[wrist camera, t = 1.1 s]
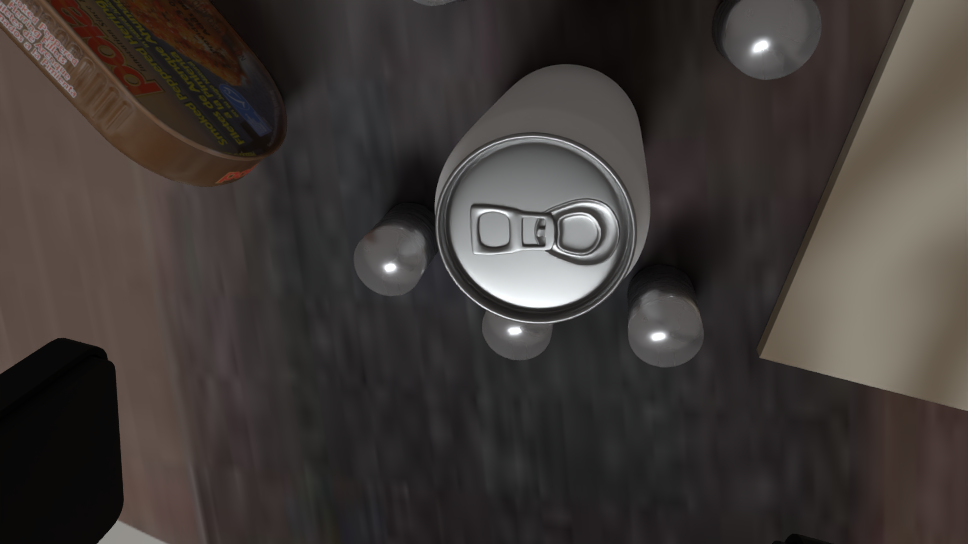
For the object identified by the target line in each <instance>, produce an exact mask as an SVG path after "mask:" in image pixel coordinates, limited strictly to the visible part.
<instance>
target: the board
mask: <svg viewBox="0 0 968 544" xmlns="http://www.w3.org/2000/svg"><path fill="white" fill-rule="evenodd" d="M757 351H758V354H759V357H760V358H763V359H767V360H771V361H775V362H779V363H783V364H787V365H791V366H795V367H799V368H802V369H806V370H810V371H814V372H818V373H822V374H826V375H830V376H834V377H838V378H842V379H845V380H849V381H853V382H857V383H861V384H865V385H869V386H873V387H877V388H881V389H884V390H888V391H892V392H896V393H900V394H904V395H908V396H912V397H916V398H920V399H923V400H927V401H931V402H935V403H939V404H943V405H947V406H951V407H955V408H959V409H962V410H966V411H968V0H905V3H904V5H903V7H902V10H901V12H900V14H899V17H898V19H897V21H896V24H895V26H894V28H893V31H892V33H891V35H890V38H889V40H888V42H887V45H886V47H885V49H884V52H883V54H882V56H881V59H880V61H879V63H878V66H877V68H876V70H875V73H874V75H873V78H872V80H871V82H870V85H869V87H868V89H867V92H866V94H865V96H864V99H863V101H862V103H861V106H860V108H859V110H858V113H857V115H856V117H855V120H854V122H853V124H852V127H851V129H850V131H849V134H848V136H847V138H846V141H845V143H844V145H843V148H842V150H841V152H840V155H839V157H838V159H837V162H836V164H835V166H834V169H833V171H832V173H831V176H830V178H829V181H828V183H827V185H826V188H825V190H824V192H823V195H822V197H821V199H820V202H819V204H818V206H817V209H816V211H815V213H814V216H813V218H812V220H811V223H810V225H809V227H808V230H807V232H806V234H805V237H804V239H803V241H802V244H801V246H800V248H799V251H798V253H797V255H796V258H795V260H794V262H793V265H792V267H791V269H790V272H789V274H788V277H787V279H786V281H785V284H784V286H783V288H782V291H781V293H780V295H779V298H778V300H777V302H776V305H775V307H774V309H773V312H772V314H771V316H770V319H769V321H768V323H767V326H766V328H765V330H764V333H763V335H762V337H761V340H760V342H759V344H758V347H757Z"/></svg>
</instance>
